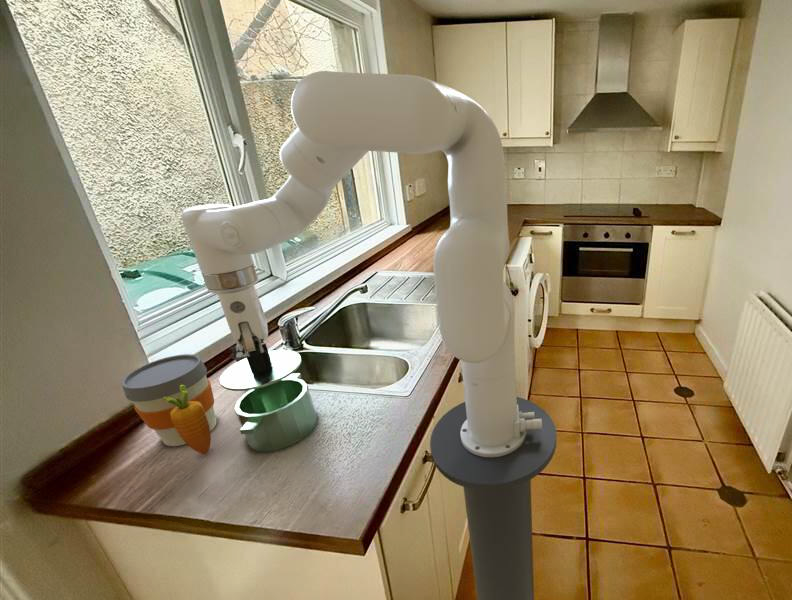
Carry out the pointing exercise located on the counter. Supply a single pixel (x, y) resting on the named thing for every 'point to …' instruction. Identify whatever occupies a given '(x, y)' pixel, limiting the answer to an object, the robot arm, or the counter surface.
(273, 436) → the pot
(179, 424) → the carrot
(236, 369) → the lid
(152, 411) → the reusable coffee cup
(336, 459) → the counter surface
